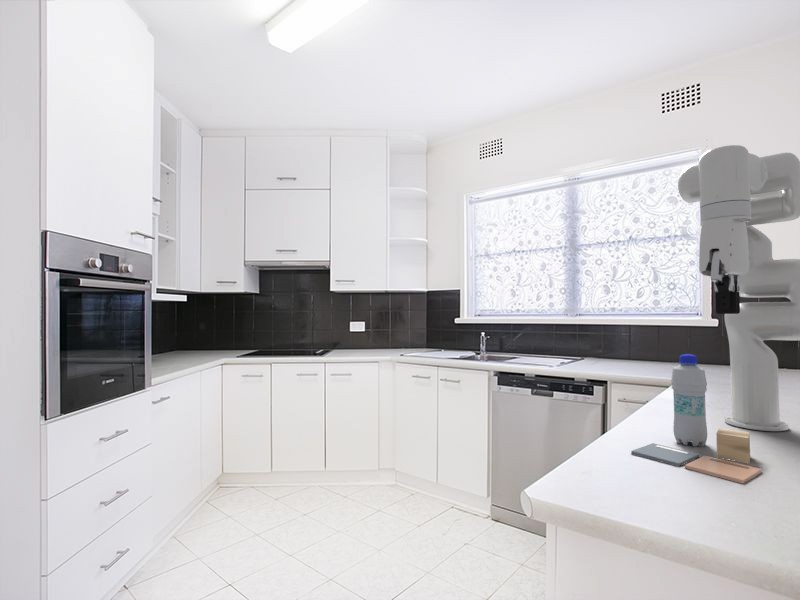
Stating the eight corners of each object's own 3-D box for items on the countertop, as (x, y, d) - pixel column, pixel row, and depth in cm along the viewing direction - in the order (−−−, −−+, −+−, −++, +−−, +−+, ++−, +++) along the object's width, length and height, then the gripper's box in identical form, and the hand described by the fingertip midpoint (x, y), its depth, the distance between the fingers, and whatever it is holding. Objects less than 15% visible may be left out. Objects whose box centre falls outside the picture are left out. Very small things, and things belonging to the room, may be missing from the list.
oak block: (719, 452, 90) (718, 428, 90) (750, 457, 86) (749, 432, 87) (717, 458, 86) (716, 433, 86) (749, 464, 83) (748, 438, 83)
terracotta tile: (705, 458, 86) (705, 455, 86) (761, 472, 78) (761, 468, 78) (684, 468, 81) (684, 464, 81) (743, 483, 73) (743, 479, 73)
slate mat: (652, 445, 94) (652, 442, 94) (699, 457, 86) (699, 453, 86) (631, 453, 89) (631, 450, 89) (679, 466, 81) (678, 462, 81)
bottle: (715, 449, 91) (712, 355, 92) (680, 447, 93) (677, 355, 93) (699, 439, 98) (697, 352, 99) (667, 438, 99) (665, 352, 100)
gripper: (718, 223, 87) (721, 313, 86) (683, 214, 78) (686, 314, 78) (764, 216, 80) (768, 313, 80) (732, 205, 72) (736, 314, 72)
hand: (727, 313), depth 79 cm, fingers closed
